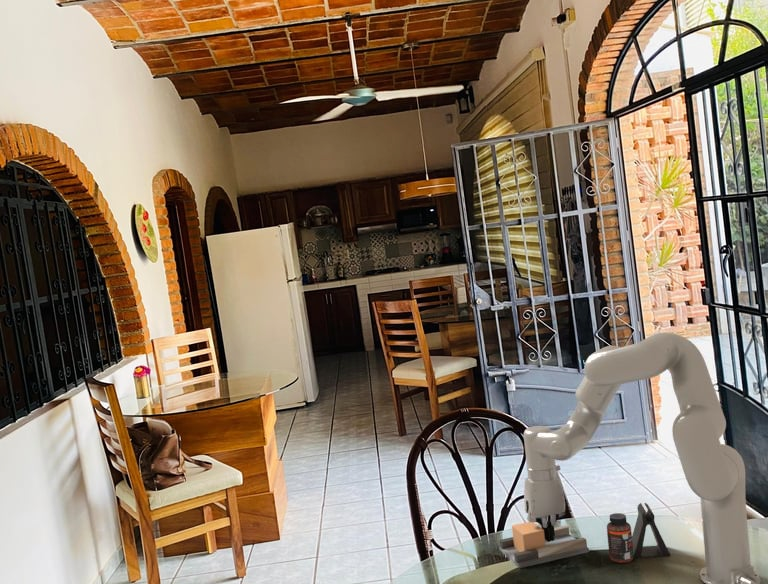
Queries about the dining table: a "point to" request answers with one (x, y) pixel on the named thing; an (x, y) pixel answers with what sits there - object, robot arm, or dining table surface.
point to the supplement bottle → (619, 539)
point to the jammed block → (528, 536)
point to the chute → (545, 549)
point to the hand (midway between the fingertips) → (548, 539)
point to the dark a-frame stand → (639, 534)
